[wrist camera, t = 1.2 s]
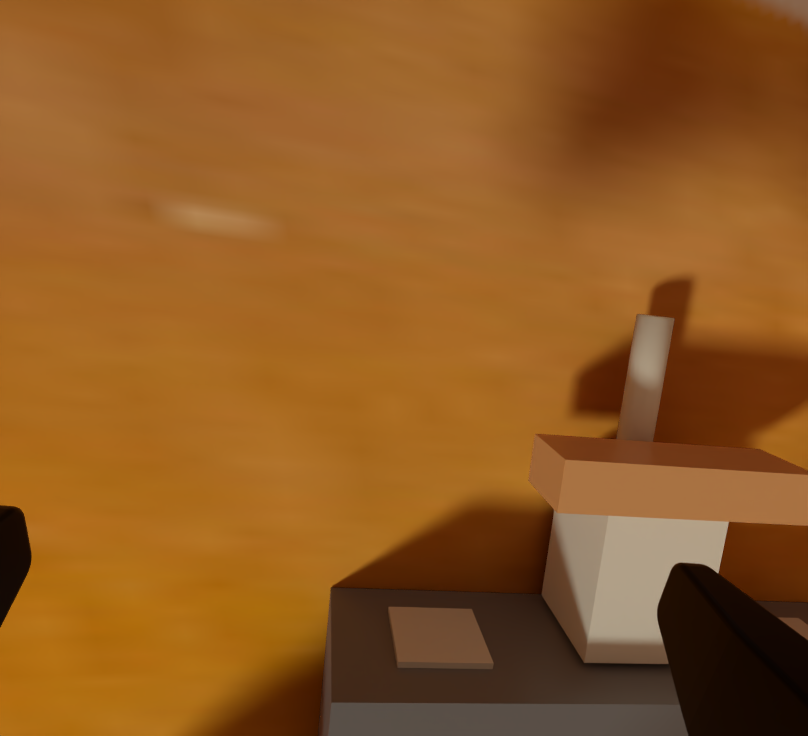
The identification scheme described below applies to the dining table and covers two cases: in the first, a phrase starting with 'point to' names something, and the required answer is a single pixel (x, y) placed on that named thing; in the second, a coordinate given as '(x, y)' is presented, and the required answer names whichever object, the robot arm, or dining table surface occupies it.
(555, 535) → the plug
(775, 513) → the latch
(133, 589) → the dining table surface
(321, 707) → the grey block
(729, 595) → the robot arm
